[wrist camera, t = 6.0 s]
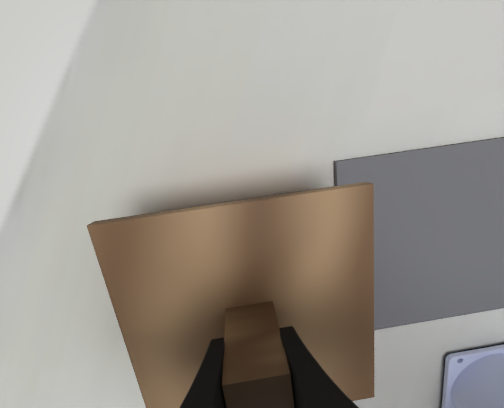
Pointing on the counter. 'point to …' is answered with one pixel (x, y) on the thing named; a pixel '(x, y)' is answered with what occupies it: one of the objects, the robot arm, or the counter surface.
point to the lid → (245, 292)
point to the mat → (435, 230)
